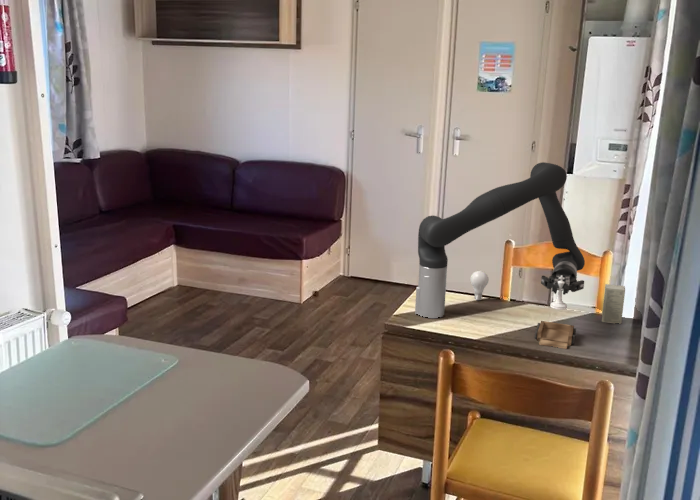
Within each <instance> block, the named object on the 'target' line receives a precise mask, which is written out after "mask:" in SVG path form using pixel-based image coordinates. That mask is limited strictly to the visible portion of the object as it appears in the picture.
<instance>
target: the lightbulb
mask: <svg viewBox="0 0 700 500" xmlns="http://www.w3.org/2000/svg"><path fill="white" fill-rule="evenodd" d="M469 281H470V283H471V286H472V288H473V291H474V297H473V299H474V300H476V301H478V302H479V301H481V300H482V299H483V292H484V290H485V288H486V286H487V285H488V284H489V276H488V274H487V273H486V272H485V271H483V270H476V271H474V272H472V273H471V276H470V279H469Z"/></svg>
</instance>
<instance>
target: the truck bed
mask: <svg viewBox="0 0 700 500" xmlns="http://www.w3.org/2000/svg"><path fill="white" fill-rule="evenodd" d="M536 327H537V328H535V331H534V339H536V341H539V342H538V344H539V346H546V347H551V346H553V347H552V348H557V347H558V349H559V348H560V349H563V350H565V349H566V350H567V348H568V347H571V346H572V345H575V339H576V336H577V335H576V334H577V328H575V325H572V324H567V323H566V324H565V323H559V322H551V321H544V320H540V322H537V325H536Z"/></svg>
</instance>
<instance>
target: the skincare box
mask: <svg viewBox="0 0 700 500" xmlns="http://www.w3.org/2000/svg"><path fill="white" fill-rule="evenodd" d="M625 294H626V287H625V285H619V284H617V285H616V284H610V283H609V284H608V283H605V285H604V295H603V305H602V312H601V314H602V315H601V322H602V323H609V324H615V323H619V324H618V325H622V320H623V311H624V306H625V305H624V303H625V297H626V296H625Z"/></svg>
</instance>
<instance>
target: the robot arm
mask: <svg viewBox="0 0 700 500" xmlns="http://www.w3.org/2000/svg"><path fill="white" fill-rule="evenodd" d="M567 177H568V175H567V171H566V170H565V168H563V167H562V166H560V165H558V164H555V163H551V162H546V161H545V162H544V161H542V162H538V163H537V164H535V165H533V167H532V168H531V170H530V177H529V178H527V179H524V180H522V181H519V182H514V183H509V184H505V185H501V186H497V187H495V188H493V189H490V190H488V191H486V192H484V193H482V194H480V195H478V196H476V198H474V199H473V200H472V201H471V202H470V203H469V204H468V205H467V206H466V207H465V208H464V209H462V210H461V211H459V212H457V213H455V214H452V215H451V216H448V217H446V218H442V217H439V216H438V215H428V216H426V217H424V218H423V219H422V220H421V222H420V224H419V228H418V236H417V254H418V259H419V261H418V262H419V265H418V281H417V283H418V284H417V286H416V289H415V291H416V292H415V307H414V314H415V315H416V314H418V315H417V316H419V315H420V316H419V317H422V316H423V317H422V318H425V317H428V318H427V319H439V318H438V317H440V318H443V317H444V316H445V310H446V309H445V308H446V306H445V305H446V292H447V275H448V260H449V259H448V255H447V253H446V249H445V246H448V245H449V244H451V243H453V242H454V241H456V240H457V239H459V238H460V237H462V236H463V235H465V234H467V233H468V232H470V231H473V230H475V229H477V228H479V227H481V226H484V225H486V224H488V223H490V222H492V221H495V220H496V219H498V218H500V217H502V216H504V215H506V214H508V213H510V212H512V211H514V210H516V209H518V208H521V207H522V206H524V205H526V204H528V203H530V202H531V201H534V200H537V199H538V200H539V203H540V205H541V208H542V211H543V213H544V216H545V218H546V222H547V226H548V229H549V234H550V238H551V242H552V245H553V247H554V248H555V249H559V250H568V251H565V252H564V251H563V252H559V253H556V254H555V255H553V257H552V263H551V264H552V267H553V270H552V273H551V275H550V276H549V277H548V276H546V275H541V277H540V279H541V281H540V284H541V285H542V286H543V287H545V288H546V289H548V290H551V292H553V294H558V290H557V288H559V285H558V281H560V280H561V279H559V277H561V275H562V276H563V277H564V278H565V279H562V281H564V282H565V283H564V285H563V287H562V288H563V291H562V296H563V295H566V294H568V293H569V292H572V293H576V292H578V291H581V290H583V289H584V287H585V280H583V279H581V280H578V279H577V278H578V277H577V276H578V272H579V271H582V270H583V269H584V267H585V264H586V262H585V257H584V255H583V253H582V251H581V250H580V248H579V247H578V245H577V244H576V241H575V239H574V235H573V231H572V227H571V224H570V220H569V218H568V216H567V214H566V212H565V211H564V208H563V207H562V205H561V203H560V201H559V198H558V195H557V192H558V191H559V190H560V189H562V188H563V187H564V185H566V181H567ZM443 315H444V316H443Z"/></svg>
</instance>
